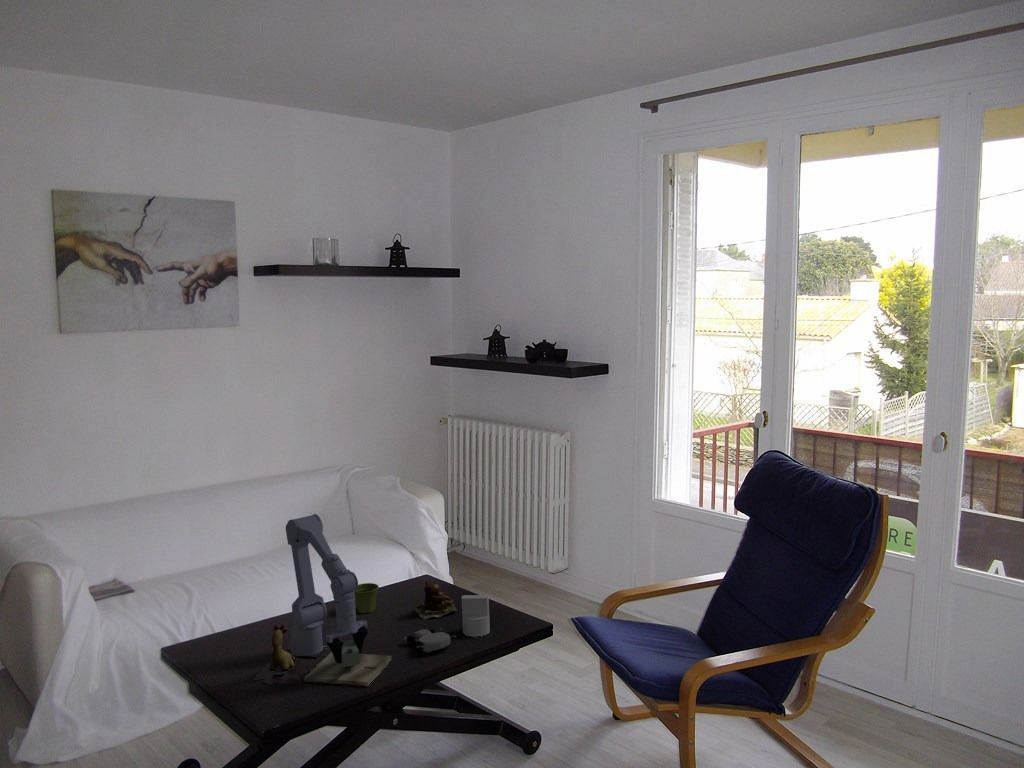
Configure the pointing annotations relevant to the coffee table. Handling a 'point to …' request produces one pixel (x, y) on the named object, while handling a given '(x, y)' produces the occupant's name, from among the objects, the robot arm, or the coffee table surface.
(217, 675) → the coffee table surface
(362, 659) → the base
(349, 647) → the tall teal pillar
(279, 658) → the stuffed giraffe
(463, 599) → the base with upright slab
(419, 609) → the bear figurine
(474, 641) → the coffee table surface
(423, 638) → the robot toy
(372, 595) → the plant pot
